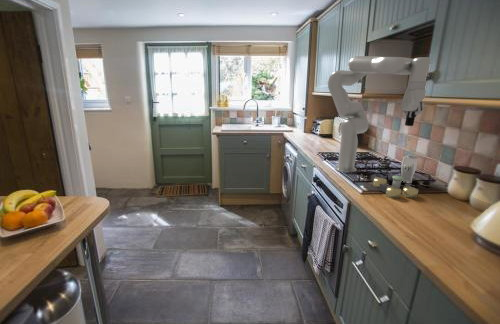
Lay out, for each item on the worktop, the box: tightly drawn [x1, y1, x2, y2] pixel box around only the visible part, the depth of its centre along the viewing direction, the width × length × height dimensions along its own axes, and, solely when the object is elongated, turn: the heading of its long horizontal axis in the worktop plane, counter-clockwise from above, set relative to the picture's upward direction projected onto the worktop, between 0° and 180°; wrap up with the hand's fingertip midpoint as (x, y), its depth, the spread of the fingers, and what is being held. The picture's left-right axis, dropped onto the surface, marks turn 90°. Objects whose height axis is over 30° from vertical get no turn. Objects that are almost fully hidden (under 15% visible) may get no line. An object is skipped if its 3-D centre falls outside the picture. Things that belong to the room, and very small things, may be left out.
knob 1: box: [378, 184, 402, 200], centre depth 123 cm, size 10×6×4 cm, turn 25°
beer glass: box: [400, 154, 419, 184], centre depth 139 cm, size 7×7×15 cm
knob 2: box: [401, 183, 419, 200], centre depth 124 cm, size 10×6×4 cm, turn 163°
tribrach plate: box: [391, 175, 403, 189], centre depth 127 cm, size 19×15×7 cm
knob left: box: [370, 174, 388, 189], centre depth 135 cm, size 10×6×4 cm, turn 3°
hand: (408, 125), depth 127 cm, fingers closed
